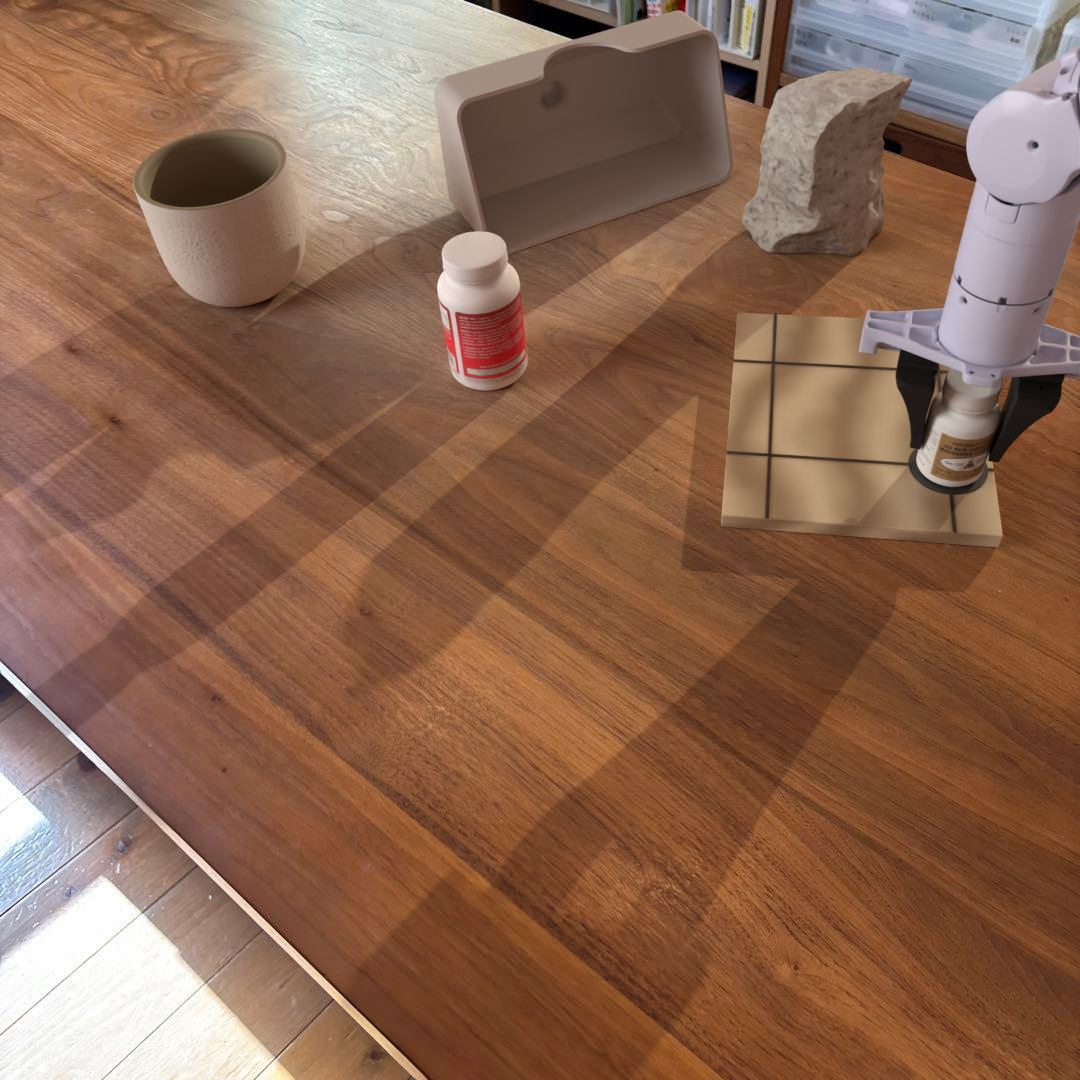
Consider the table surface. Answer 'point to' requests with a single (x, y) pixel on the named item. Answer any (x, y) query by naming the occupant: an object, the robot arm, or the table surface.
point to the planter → (224, 215)
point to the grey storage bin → (585, 130)
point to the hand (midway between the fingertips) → (954, 445)
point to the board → (835, 442)
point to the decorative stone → (824, 163)
